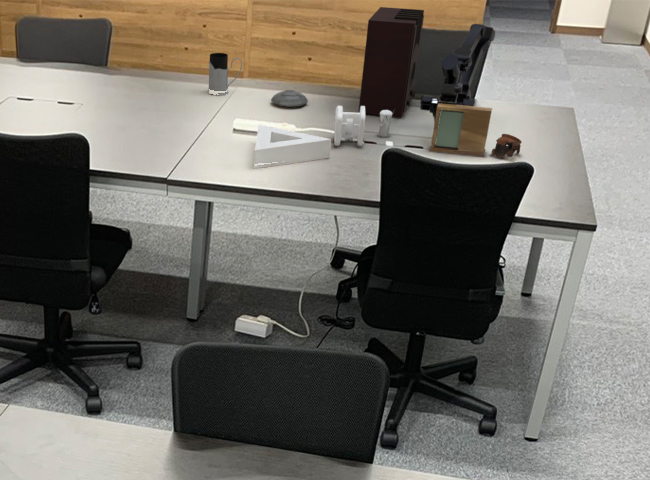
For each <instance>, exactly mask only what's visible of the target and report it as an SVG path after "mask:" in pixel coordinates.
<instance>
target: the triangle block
mask: <svg viewBox="0 0 650 480" xmlns="http://www.w3.org/2000/svg"><path fill="white" fill-rule="evenodd" d="M331 147H332V138H326V137H322V136H317V135H312V134H307V133H303V132H298V131H293V130H288V129H283V128H278V127H273V126H269V125H264V124H258V127H257V132H256V140H255V144H254V154H253V169H254V170H256V168H257V169H263V168H268V167H270V168H271V167H276V166H283V165H289V164H297V163H303V162H310V161H311V162H312V161H316V160H323V159H330V157H331V149H332V148H331ZM283 161H284V162H283ZM272 162H278V163H272ZM258 163H271V164H264V165H257V166H254V164H258ZM254 167H255V168H254Z"/></svg>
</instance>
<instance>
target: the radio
mask: <svg viewBox="0 0 650 480" xmlns="http://www.w3.org/2000/svg"><path fill="white" fill-rule="evenodd" d="M424 19H425V9H417V8H416V9H415V8H403V7H402V8H401V7H387V6H386V7H385V6H380V7H379V8H378V9H377V10H376V11H375V12H374V14H372V16H371V17H370V18H369V19H368V21H367V30H366V39H365V49H364V57H363V67H362V77H361V84H360V85H361V86H360V95H359V104H358V112H357V113H360V107H361V106H365V116H367V115H375V116H380V112H381V111H382V110H389V111H391V112H392V113H393V114H392V117H393V118H394V119H401V118H403V116H404V114H405V112H406V110H407V108H408V107H409V106H411V101H412V99H413V98H415V96H416V91H415V84H416V76H417V70H418V69H417V68H418V61H419V57H420V56H419V54H420V49H421V48H420V47H421V40H422V35H423V34H422V33H423V28H424V27H423V26H424ZM393 111H394V112H393Z"/></svg>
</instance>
